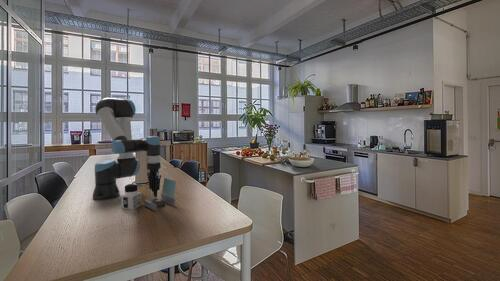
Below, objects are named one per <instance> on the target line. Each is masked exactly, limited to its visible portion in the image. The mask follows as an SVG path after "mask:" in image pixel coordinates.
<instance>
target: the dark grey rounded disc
mask: <svg viewBox="0 0 500 281" xmlns="http://www.w3.org/2000/svg"><path fill="white" fill-rule="evenodd" d="M150 202H152V203H154V204H156V205H157V208H162V207H163V206H165V202H164V199H161V198H157V199H154V200H152V199H151V201H150Z"/></svg>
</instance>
